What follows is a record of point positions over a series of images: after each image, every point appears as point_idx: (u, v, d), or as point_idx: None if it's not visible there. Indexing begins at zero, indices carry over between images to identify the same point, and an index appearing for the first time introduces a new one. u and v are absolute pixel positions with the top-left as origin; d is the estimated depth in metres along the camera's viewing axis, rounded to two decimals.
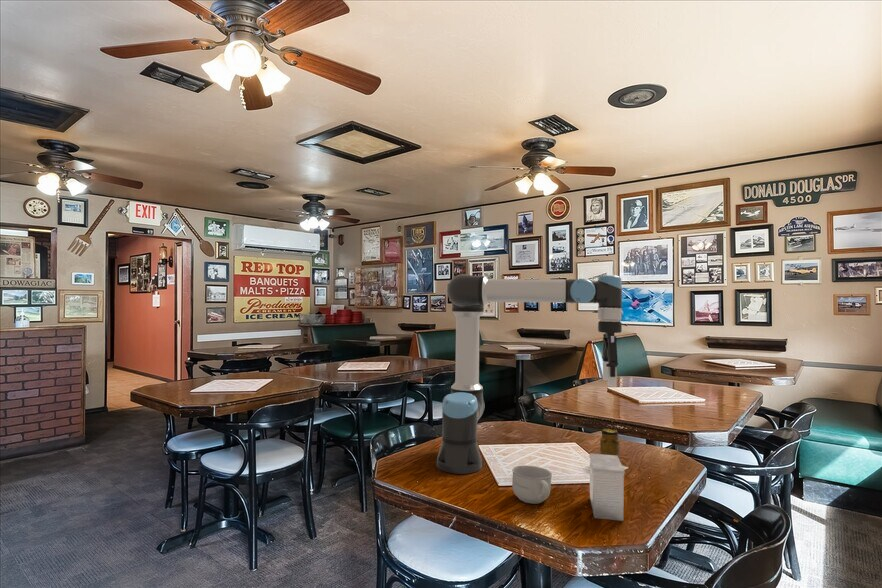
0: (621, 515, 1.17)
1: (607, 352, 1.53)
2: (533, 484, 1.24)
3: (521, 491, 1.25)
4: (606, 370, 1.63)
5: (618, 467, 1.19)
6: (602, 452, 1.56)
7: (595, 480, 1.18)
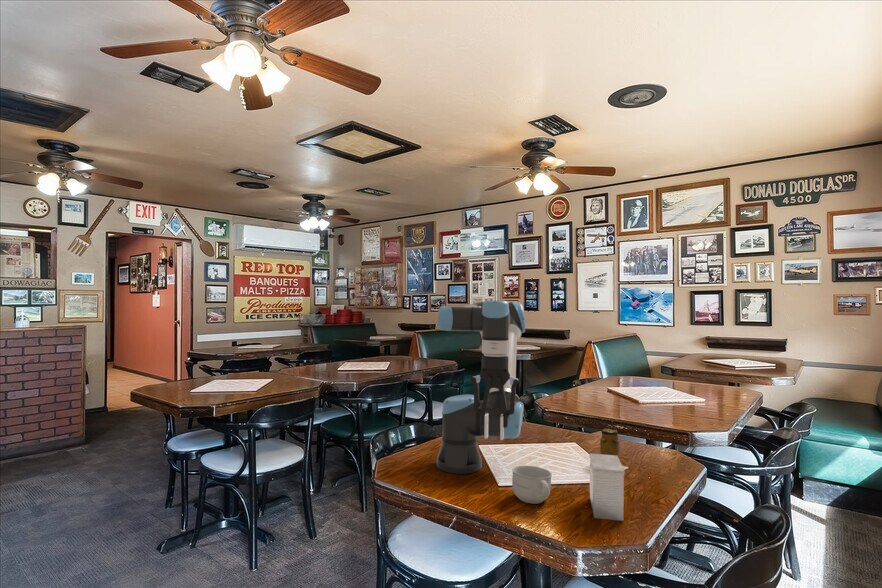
0: (621, 515, 1.17)
1: (488, 393, 1.32)
2: (533, 484, 1.24)
3: (521, 491, 1.25)
4: None
5: (618, 467, 1.19)
6: (602, 452, 1.56)
7: (595, 480, 1.18)
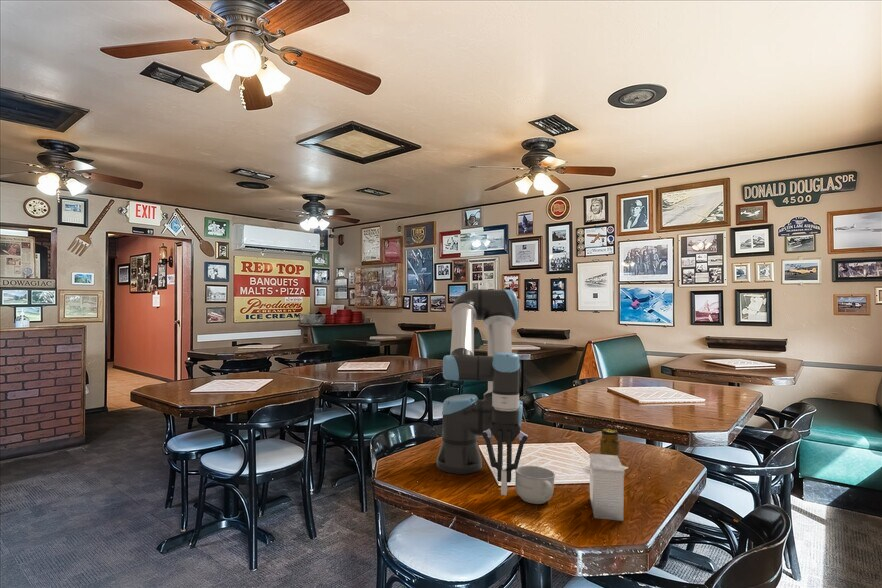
0: (621, 515, 1.17)
1: None
2: (536, 484, 1.24)
3: (524, 491, 1.25)
4: None
5: (618, 467, 1.19)
6: (602, 452, 1.56)
7: (595, 480, 1.18)
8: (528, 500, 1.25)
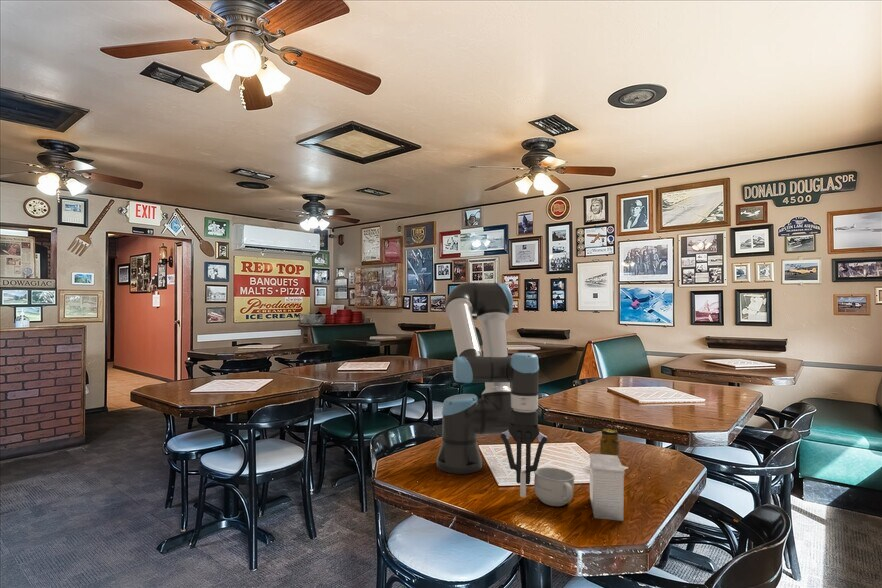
0: (621, 515, 1.17)
1: (520, 448, 1.29)
2: (556, 486, 1.22)
3: (544, 493, 1.24)
4: None
5: (618, 467, 1.19)
6: (602, 452, 1.56)
7: (595, 480, 1.18)
8: (548, 502, 1.24)
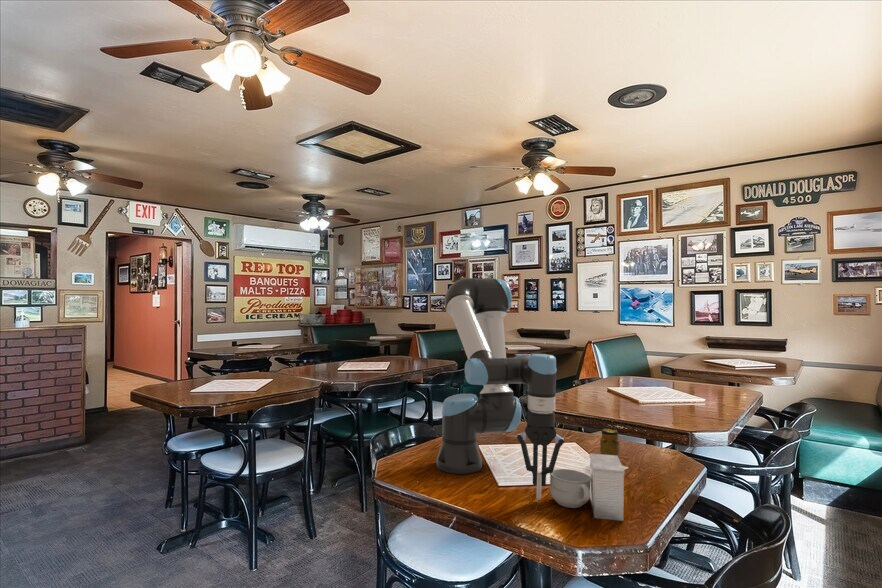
0: (621, 515, 1.17)
1: None
2: (573, 488, 1.22)
3: (560, 495, 1.23)
4: None
5: (618, 467, 1.19)
6: (602, 452, 1.56)
7: (595, 480, 1.18)
8: (564, 504, 1.23)
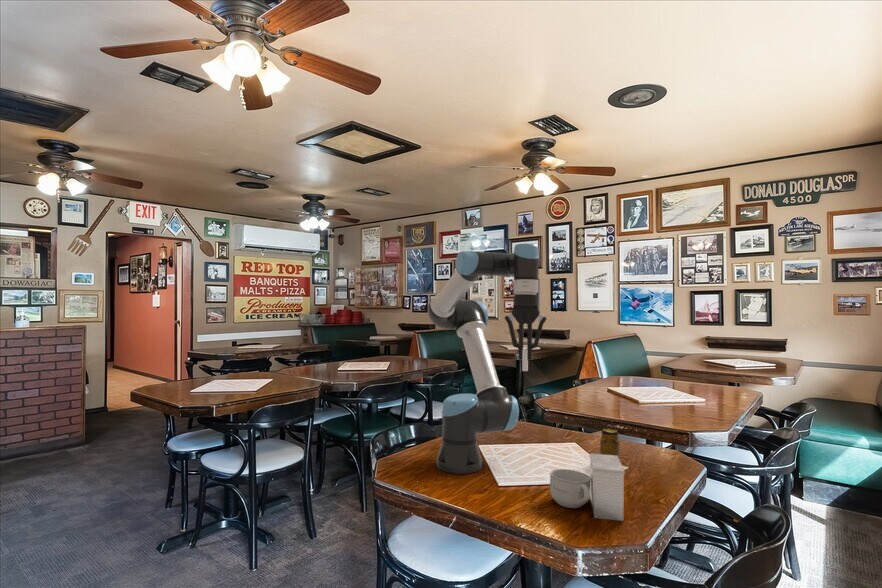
0: (621, 515, 1.17)
1: (522, 330, 1.44)
2: (573, 488, 1.22)
3: (560, 495, 1.23)
4: None
5: (618, 467, 1.19)
6: (602, 452, 1.56)
7: (595, 480, 1.18)
8: (564, 504, 1.23)
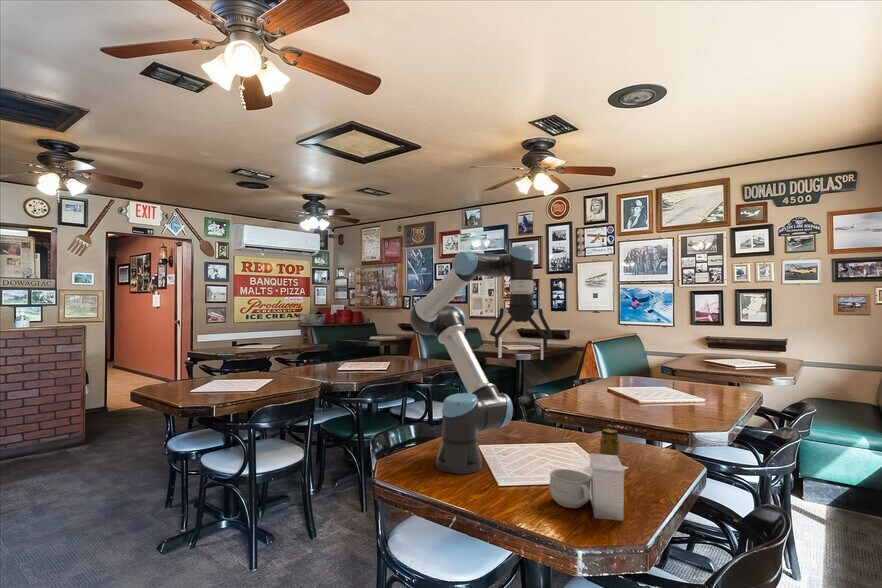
0: (621, 515, 1.17)
1: None
2: (573, 488, 1.22)
3: (560, 495, 1.23)
4: None
5: (618, 467, 1.19)
6: (602, 452, 1.56)
7: (595, 480, 1.18)
8: (564, 504, 1.23)
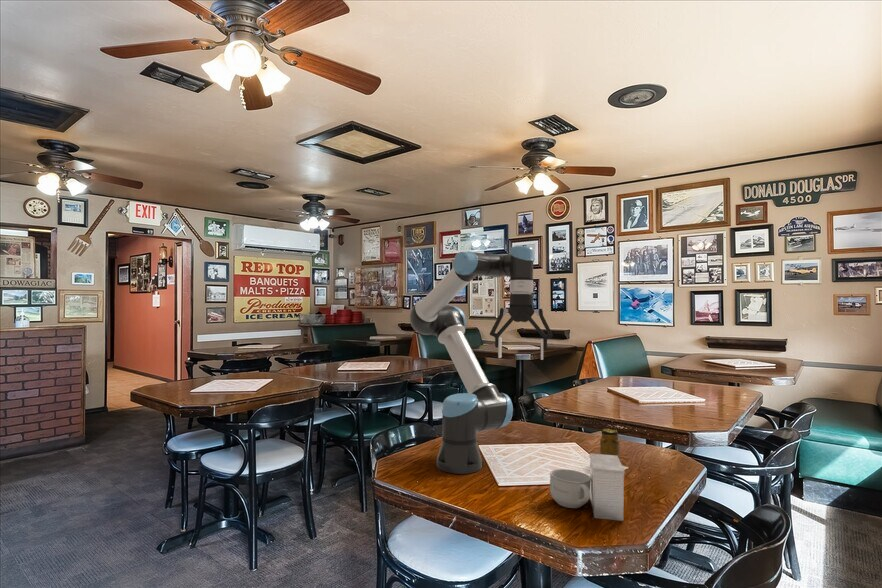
0: (621, 515, 1.17)
1: None
2: (573, 488, 1.22)
3: (560, 495, 1.23)
4: None
5: (618, 467, 1.19)
6: (602, 452, 1.56)
7: (595, 480, 1.18)
8: (564, 504, 1.23)
